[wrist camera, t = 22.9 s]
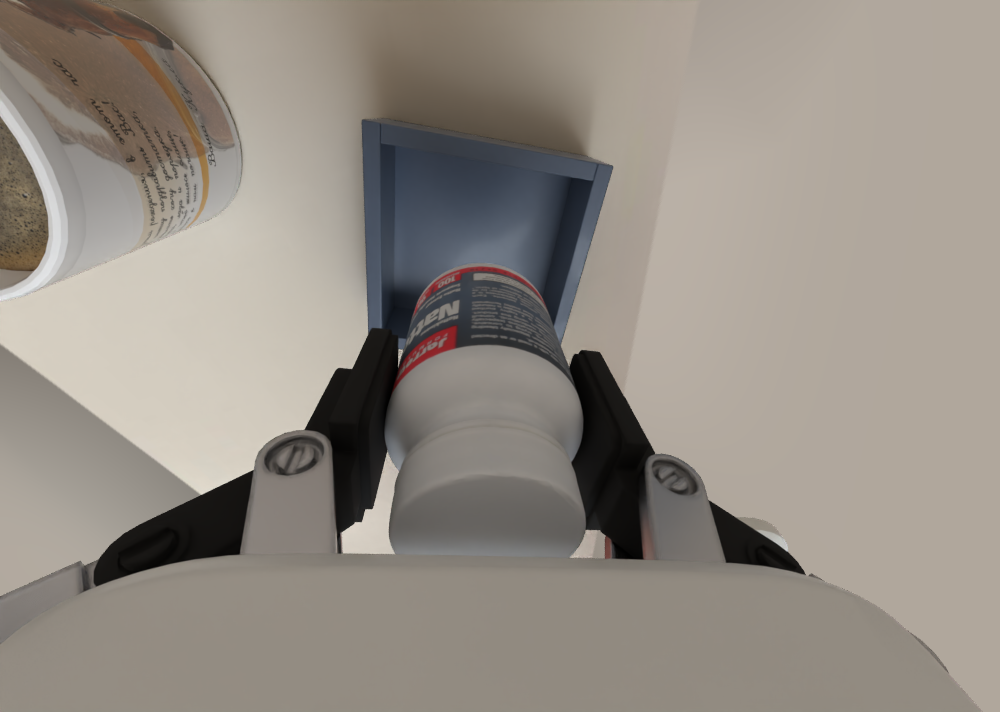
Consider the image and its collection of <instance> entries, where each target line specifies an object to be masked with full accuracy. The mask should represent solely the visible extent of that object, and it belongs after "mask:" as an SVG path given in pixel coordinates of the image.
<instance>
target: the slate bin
mask: <svg viewBox="0 0 1000 712" xmlns="http://www.w3.org/2000/svg"><path fill="white" fill-rule="evenodd" d="M362 149H363V181H364V212H365V243H366V275H367V306H368V334H369V332H370V330H371V328H382V329H391V330H392V334H393V335H398V339H399V341H398V349H404V346H405V343H406V339H407V335H408V332H409V328H410V324H411V320H412V317H413V314H414V311H415V308H416V305H417V302H418V300H419V298H420V296H421V295H422V293H423V291H424V290H425V289H426V288H427V287H428V285H429V284H430V283H431V282H432V281H433V280H435V279H436V278H437V277H438V276H440V275H441V274H443V273H444V272H446V271H448V270H451V269H453V268H455V267H458V266H462V265H466V264H473V263H489V264H495V265H500V266H504V267H506V268H509V269H511V270H513V271H515V272H517V273H519V274H520V275H522V276H523V277H525V278H526V279H527V280H528V281H529V282H530V283H531V284H532V285H533V286H534V287H535V288H536V289H537V291H538V292H539V294H540V295H541V297H542V299H543V301H544V303H545V305H546V308H547V310H548V313H549V316H550V318H551V321H552V324H553V326H554V329H555V331H556V334H557V337H558V340H559V342H560V345H561V342H562V339H563V335H564V332H565V329H566V325H567V322H568V318H569V315H570V312H571V308H572V305H573V302H574V298H575V295H576V291H577V288H578V285H579V281H580V278H581V275H582V271H583V268H584V264H585V261H586V258H587V254H588V251H589V247H590V244H591V241H592V237H593V234H594V231H595V227H596V224H597V220H598V217H599V214H600V210H601V207H602V204H603V200H604V197H605V193H606V190H607V187H608V183H609V180H610V177H611V173H612V170H613V166H612V165H609V164H607V163H604V162H601V161H599V160H596V159H593V158H591V157H588V156H583V155H578V154H573V153H567V152H562V151H557V150H551V149H546V148H541V147H535V146H530V145H525V144H519V143H514V142H509V141H503V140H498V139H493V138H487V137H482V136H477V135H471V134H466V133H461V132H455V131H450V130H445V129H439V128H434V127H429V126H423V125H418V124H413V123H407V122H402V121H396V120H391V119H386V118H377V119H363V120H362Z"/></svg>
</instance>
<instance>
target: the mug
mask: <svg viewBox="0 0 1000 712" xmlns="http://www.w3.org/2000/svg"><path fill="white" fill-rule="evenodd" d="M241 173H242V156H241V148H240V142H239V138H238V135H237V131H236V128H235V125H234V122H233V120H232V118H231V115H230V113H229V110H228V108H227V107H226V105H225V103H224V101H223V99H222V98H221V96H220V94H219V92H218V91H217V89H216V88H215V86H214V85H213V84H212V82H211V81H210V79H209V78H208V76H207V75H206V74H205V73H204V71H203V70H202V69H201V68H200V67H199V66H198V65H197V63H196V62H195V61H194V60H193V59H192V58H191V57H190V56H189V55H188V54H187V53H186V52H185V51H184V50H183V49H182V48H181V47H180V46H179V45H178V44H177V43H175V42H174V41H173V40H172V39H171V38H169V37H168V36H167V35H165V34H164V33H163V32H161V31H160V30H159V29H157V28H156V27H155V26H153V25H152V24H150V23H148V22H146V21H145V20H143V19H141V18H140V17H138V16H136V15H135V14H132V13H130V12H128V11H125V10H123V9H121V8H118V7H116V6H113V5H110V4H107V3H103V2H100V1H97V0H0V301H9V300H12V299H16V298H19V297H22V296H26V295H29V294H31V293H34V292H36V291H38V290H41V289H43V288H46V287H48V286H51V285H53V284H56V283H58V282H60V281H63V280H65V279H68V278H70V277H73V276H75V275H77V274H80V273H82V272H85V271H87V270H90V269H92V268H94V267H97V266H99V265H102V264H104V263H107V262H109V261H111V260H114V259H116V258H119V257H121V256H124V255H126V254H128V253H131V252H133V251H136V250H138V249H141V248H143V247H145V246H148V245H150V244H153V243H155V242H158V241H160V240H163V239H165V238H167V237H170V236H172V235H175V234H177V233H180V232H182V231H184V230H187V229H189V228H192V227H194V226H197V225H199V224H201V223H204V222H206V221H209V220H210V219H212V218H214V217H216V216H218V215H219V214H220V213H221V212H222V211H224V210H225V209H226V208H227V207H228V205H229V204H230V203H231V201H232V200H233V198H234V196H235V194H236V192H237V189H238V187H239V183H240V178H241Z"/></svg>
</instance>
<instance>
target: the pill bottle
mask: <svg viewBox="0 0 1000 712" xmlns="http://www.w3.org/2000/svg"><path fill="white" fill-rule="evenodd" d="M384 434H385V442H386V446H387V450H388V453H389V455H390V458H391V460H392V462H393V463H394V465H395V466H396V468H397V469H398V471H399V474H398V476H397V479H396V482H395V493H394V497H393V502H392V508H391V514H390V522H389V539H390V542H391V546H392V548H393V550H394V552H395V554H405V555H465V556H513V557H557V558H569V557H570V556H571V555H572V554H573V553H574V552H575V551H576V549H577V548H578V547H579V545H580V543H581V542H582V539H583V537H584V534H585V529H586V518H585V511H584V507H583V503H582V499H581V495H580V491H579V487H578V484H577V479H576V474H575V471H574V469H573V467H572V464H571V462H572V460H573V459H574V457H575V455H576V453H577V451H578V449H579V446H580V443H581V440H582V434H583V412H582V407H581V403H580V400H579V396H578V393H577V390H576V387H575V384H574V381H573V379H572V375H571V373H570V369H569V366H568V364H567V361H566V359H565V356H564V353H563V350H562V348H561V345H560V342H559V340H558V337H557V334H556V331H555V329H554V326H553V324H552V321H551V318H550V316H549V313H548V310H547V308H546V305H545V303H544V301H543V299H542V297H541V295H540V294H539V292H538V291H537V289H536V288H535V287H534V286H533V285H532V284H531V283H530V282H529V281H528V280H527V279H526V278H525V277H523V276H522V275H520V274H519V273H517V272H515V271H513V270H511V269H509V268H506V267H504V266H500V265H495V264H489V263H473V264H466V265H462V266H458V267H455V268H453V269H451V270H448V271H446V272H444V273H443V274H441V275H440V276H438V277H437V278H436V279H435V280H433V281H432V282H431V283H430V284H429V285H428V287H427V288H426V289H425V290H424V291H423V293H422V295H421V296H420V298H419V300H418V302H417V305H416V308H415V311H414V314H413V317H412V320H411V324H410V328H409V332H408V335H407V339H406V343H405V346H404V350H403V353H402V356H401V359H400V364H399V368H398V371H397V375H396V378H395V382H394V385H393V388H392V392H391V396H390V399H389V403H388V406H387V410H386V417H385V428H384Z"/></svg>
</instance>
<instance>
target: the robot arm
mask: <svg viewBox="0 0 1000 712" xmlns="http://www.w3.org/2000/svg"><path fill="white" fill-rule="evenodd" d="M398 341H399V339H398V335H393V334H392V330H391V329H382V328H371V330H370V332H369V334H368V336H367V338H366V341H365V343H364V345H363V347H362V349H361V352H360V354H359V356H358V358H357V360H356V362H355V365H354V367H353V369H344V368H338V369H337V370H336V371H335V372H334V374H333V376H332V378H331V380H330V382H329V384H328V386H327V388H326V390H325V392H324V394H323V395H322V397H321V399H320V401H319V403H318V405H317V407H316V409H315V411H314V413H313V415H312V417H311V418H310V420H309V422H308V424H307V426H306V428H305V430H296V431H292V432H288V433H284V434H282V435H280V436H277V437H275V438H274V439H272V440H271V441H269V442H268V443H266V444H265V445H264V447H263V448H262V449H261V450H260V451H259V453H258V455H257V458H256V460H255V466H254V470H253V471H250V472H248V473H246V474H244V475H242V476H240V477H238V478H236V479H234V480H232V481H230V482H228V483H225V484H223V485H221V486H219V487H217V488H215V489H213V490H211V491H209V492H207V493H205V494H202V495H200V496H198V497H196V498H194V499H192V500H190V501H188V502H186V503H184V504H182V505H179V506H177V507H175V508H173V509H171V510H169V511H167V512H165V513H163V514H161V515H159V516H156V517H154V518H152V519H150V520H148V521H146V522H144V523H142V524H140V525H138V526H136V527H135V528H133V529H131V530H129V531H128V532H126V533H124V534H123V535H122V536H121V537H119V538H118V539H117V540H116V541H114V542H113V543H112V544H111V545H110V546H109V547H108V548H107V550H106V551H105V552H104V553H103V554H102V556H101V557H100V558H99V559H98V560H96V561H94V562H92V563H90V564H87V565H85V566H84V564H82V562H81V561H79V562H76V563H74V564H72V565H69V566H67V567H65V568H63V569H61V570H58V571H56V572H54V573H51V574H49V575H47V576H45V577H42V578H40V579H38V580H36V581H33V582H31V583H29V584H27V585H24V586H22V587H20V588H18V589H15V590H13V591H11V592H9V593H6V594H4V595H2V596H0V712H982V711H981V709H980V708H979V707H978V706H977V705H976V704H975V703H974V701H973V700H972V699H971V698H970V697H969V696H968V695H967V694H966V692H965V691H964V690H963V689H962V688H961V687H960V686H959V684H958V683H957V682H956V681H955V680H954V679H953V678H952V677H951V676H950V675H949V673H948V671H947V669H946V667H945V666H944V665H943V663H942V662H941V661H940V659H939V658H938V657H937V656H936V654H935V653H934V652H933V651H932V650H931V649H930V648H929V647H928V646H927V645H925V644H924V643H923V642H922V641H921V640H920V639H918V638H917V637H916V636H914V635H913V634H912V633H910V632H909V631H907V630H906V629H905V628H904V627H903V626H902V625H901V624H900V623H899V622H897V621H896V620H895V619H894V618H893V617H891V616H890V615H889V614H887V613H886V612H885V611H883V610H882V609H880V608H879V607H877V606H876V605H874V604H872V603H870V602H869V601H867V600H865V599H863V598H861V597H860V596H858V595H856V594H854V593H852V592H850V591H848V590H845V589H843V588H840V587H837V586H835V585H832V584H830V583H827V582H825V581H823V580H822V579H820V578H818V577H816V576H815V575H813V574H810V575H809V576H806V574H805V572H804V570H803V569H802V568H801V566H800V565H799V563H798V562H797V561H796V560H795V559H794V558H793V557H792V556H791V555H790V554H789V553H788V552H787V551H786V550H785V549H783V548H782V547H781V546H779V545H778V544H777V543H775V542H773V541H772V540H770V539H769V538H767V537H766V536H764V535H762V534H761V533H759V532H758V531H756V530H755V529H753V528H752V527H750V526H748V525H747V524H745V523H744V522H742V521H741V520H739V519H737V518H736V517H734V516H732V515H731V514H729V513H728V512H726V511H725V510H723V509H722V508H720V507H719V506H717V505H715V504H714V503H712V502H711V501H709V500H708V497H707V493H706V490H705V486H704V484H703V481H702V479H701V477H700V476H699V475H698V473H697V472H696V471H695V470H694V469H693V468H692V467H690V466H689V465H688V464H687V463H685V462H684V461H682V460H680V459H679V458H676V457H674V456H671V455H666V454H655V452H654V450H653V448H652V446H651V445H650V443H649V441H648V439H647V437H646V435H645V434H644V432H643V430H642V428H641V426H640V424H639V422H638V421H637V419H636V417H635V415H634V413H633V412H632V409H631V408H630V406H629V404H628V402H627V400H626V398H625V397H624V396H623V394H622V392H621V390H620V388H619V387H618V385H617V383H616V381H615V379H614V377H613V375H612V374H611V372H610V370H609V368H608V366H607V364H606V362H605V361H604V359H603V357H602V355H601V353H600V352H596V351H587V350H581V351H580V352H579V354H574V356H573V358H572V361H571V364H570V367H569V369H570V373H571V375H572V379H573V381H574V384H575V387H576V390H577V393H578V396H579V400H580V403H581V407H582V412H583V434H582V440H581V443H580V446H579V449H578V451H577V453H576V455H575V457H574V459H573V460H572V462H571V464H572V467H573V469H574V471H575V474H576V479H577V484H578V487H579V491H580V495H581V499H582V503H583V507H584V511H585V518H586V529H585V530H601V532H602V533H603V534H604V535H606V537H605V559H597V558H596V559H595V558H557V557H513V556H465V555H405V554H343V550H342V532H343V531H344V530H346V529H347V528H349V527H350V526H352V525H353V524H354V523H355V522H362V520H363V516H364V512H365V509H373V506H374V502H375V498H376V494H377V490H378V486H379V482H380V478H381V474H382V470H383V466H384V462H385V458H386V454H387V446H386V442H385V434H384V428H385V417H386V410H387V406H388V403H389V399H390V396H391V392H392V388H393V385H394V382H395V378H396V375H397V371H398Z"/></svg>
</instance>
